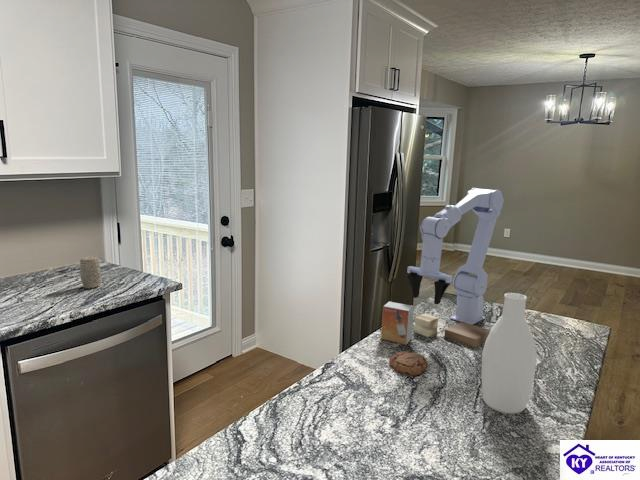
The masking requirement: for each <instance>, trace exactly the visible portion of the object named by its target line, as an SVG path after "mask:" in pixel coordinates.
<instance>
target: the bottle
mask: <svg viewBox="0 0 640 480" xmlns="http://www.w3.org/2000/svg"><path fill="white" fill-rule="evenodd" d="M503 298H504V301H503V307H502V313H501V316H499V318H498V319H497V321H496V322H495V323H494V324H493V326H492V327H491V328H490V330H491V331H490V333H489V335H488V337H487V339H486V341H485V342H484V345H483V350H482V353H481V372H480V373H481V374H480V375H481V393H482V400H483V402H484V403H485V404H486V405H487V406H488V408H491V409H492V410H494V411H496V412H499V413H501V414H509V415H512V414H513V415H515V414H520V413H522V412H523V411H524V410H525V409H526V408H527V406H528V401H529V399H530V395H531V393H532V388H533V383H534V377H535V371H536V367H537V349H536V344H535V340H534V335H533V333H532V331H531V329H530V327H529V325H528V323H527V320H526V302H527V299H528V297H527V295H525V294H522V293H517V292H506V293H504V294H503Z"/></svg>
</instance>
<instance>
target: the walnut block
mask: <svg viewBox="0 0 640 480" xmlns="http://www.w3.org/2000/svg"><path fill="white" fill-rule="evenodd" d="M490 331H491V329H487V328H485V327H481V326H478V325H475V324H473V325H472V324H468V323H465V322H460V321H458V322H457V323H455V324H453V325H452V326H449V327H447V328H445V329H444V338H445V339H447V340H452V342H453V341H454V342H457V343H460V344H462V345H466V346H469V347H472V348H474V349H475V348H477V347H479V346H481V345H482V344H485V341H486V339H487V337H488V335H489V333H490Z"/></svg>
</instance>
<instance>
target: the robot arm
mask: <svg viewBox="0 0 640 480" xmlns="http://www.w3.org/2000/svg"><path fill="white" fill-rule="evenodd" d="M504 201H505V200H504V197H503V194H502V191H501V190H500V189H488V188H478V187H472V188H471V189H470V190H468V191H467V193H466V196H464V198H462V199H461V200H460V201H458V202H457V203H456V204H455V205H452V204H450V205H449V204H447V205H445V206H444V208H443V209H441V210H440V211H439V212H436V213H435V214H434V216H427V217H425V218H424V219H423V220H422V221H421V224H420V225H419V229H420V233H421V240H422V247H421V255H420V265H419V266H420V267H417V266H413V265H410V266H407V272H406V273H408V275H407V279H408V282H409V284H410V288H411V291H412V292H411V293H412V298H413V299H417V298H419V296H420V289H421V284H422V280H423V277H425V278H428V279H429V278H430V279H433V280H437V281H434V282H433V284H434V298H433V299H434V300H433V302H434V305H440V303H441V301H442V299H443V296H444V294H445V292H446V291H447V289H448V287H449V286H450V285H451V283H452V287H453V289H454V290H455V293H456V294H457V296H456V307H455V315H451V316H450V317H449V318H450V319H451V320H453V321H456V322H465V323H468V324H472V325H475V324H477V323H479V322H481V321H483V320H485V319H486V317H485V316H483V315H484V303H485V299H484V296H483V295H484V294H486V290H487V288H488V278H489V275H488V274H487V272H486V271H485V269H484V268H483V266H484V264H485V263H484V262H485V260H486V257H487V253H488V249H489V247H490V243H491V240H492V236H493V234H494V233H493V232H494V228H495V226H496V222H497V219H498V218H499V217H500V215H501V213H502V212H501V211H502V208H503V205H504ZM471 210H472V211H473V213H474V214H476V215H477V216H478V223H477V226H476V229H475V233H474V236H473V239H472V244H471V246H470V249H469V253H468V256H467V260H466V263H465V264H463V265H461V266H459V267H458V268H457V271H456V273H455V275H450V274H447V273H444V272H441V271H440V268H441V267H440V266H441V258H442V250H443V249H442V248H443V240H444V238H446V237H447V235H448V233H449V231H450V230H451V228H452V227H453V226H455V225H456V224H457V223H459V222H461V219H462V216H463V215H464V214H466V213H467V212H469V211H471Z"/></svg>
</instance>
